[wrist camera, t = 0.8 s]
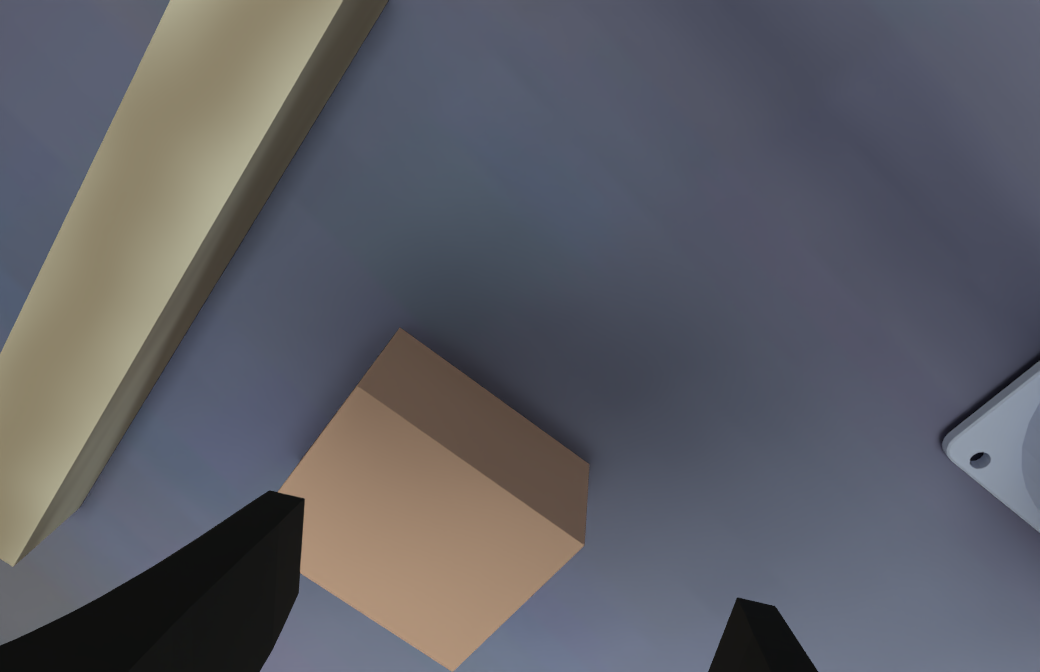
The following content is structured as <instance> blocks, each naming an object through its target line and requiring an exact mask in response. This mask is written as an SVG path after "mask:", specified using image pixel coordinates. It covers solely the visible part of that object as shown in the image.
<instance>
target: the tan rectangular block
mask: <svg viewBox="0 0 1040 672" xmlns="http://www.w3.org/2000/svg"><path fill="white" fill-rule="evenodd" d="M588 480H589V464H588V463H587V462H585V461H584V460H583V459H581V458H580V457H579V456H577V455H576V454H574V453H573V452H572V451H570V450H569V449H568V448H566V447H565V446H563V445H562V444H561V443H559V442H558V441H556V440H555V439H554V438H552V437H551V436H550V435H548V434H547V433H545V432H544V431H543V430H541V429H540V428H538V427H537V426H536V425H534V424H533V423H532V422H530V421H529V420H527V419H526V418H525V417H523V416H522V415H520V414H519V413H518V412H516V411H515V410H514V409H512V408H511V407H509V406H508V405H507V404H505V403H504V402H503V401H501V400H500V399H498V398H497V397H496V396H494V395H493V394H491V393H490V392H489V391H487V390H486V389H485V388H483V387H482V386H480V385H479V384H478V383H476V382H475V381H473V380H472V379H471V378H469V377H468V376H467V375H465V374H464V373H462V372H461V371H460V370H458V369H457V368H455V367H454V366H453V365H451V364H450V363H449V362H447V361H446V360H444V359H443V358H442V357H440V356H439V355H438V354H436V353H435V352H433V351H432V350H431V349H429V348H428V347H426V346H425V345H424V344H422V343H421V342H420V341H418V340H417V339H415V338H414V337H413V336H411V335H410V334H408V333H407V332H406V331H404V330H403V329H402V328H399V329H398V331H397V332H396V333H395V335H394V336H393V337H392V339H391V340H390V342H389V343H388V344H387V346H386V347H385V348H384V350H383V351H382V352H381V354H380V355H379V356H378V358H377V359H376V360H375V362H374V363H373V364H372V366H371V367H370V368H369V370H368V371H367V372H366V374H365V375H364V376H363V378H362V379H361V380H360V382H359V383H358V384H357V386H356V387H355V388H354V390H353V391H352V392H351V394H350V395H349V396H348V398H347V399H346V401H345V402H344V403H343V405H342V406H341V407H340V409H339V410H338V411H337V413H336V414H335V415H334V417H333V418H332V419H331V421H330V422H329V423H328V425H327V426H326V427H325V429H324V430H323V431H322V433H321V434H320V435H319V437H318V438H317V439H316V441H315V442H314V443H313V445H312V446H311V447H310V449H309V450H308V451H307V453H306V454H305V455H304V457H303V458H302V460H301V461H300V462H299V464H298V465H297V466H296V468H295V469H294V470H293V472H292V473H291V474H290V476H289V477H288V479H287V480H286V481H285V483H284V484H283V485H282V487H281V488H280V489H279V491H278V492H279V493H283V494H287V495H292V496H296V497H301V498H305V506H304V521H303V535H302V550H301V565H300V573H301V574H303V575H304V576H306V577H307V578H309V579H310V580H312V581H313V582H315V583H316V584H318V585H320V586H321V587H323V588H324V589H326V590H327V591H329V592H330V593H332V594H333V595H335V596H336V597H338V598H340V599H341V600H343V601H344V602H346V603H347V604H349V605H350V606H352V607H353V608H355V609H356V610H358V611H360V612H361V613H363V614H364V615H366V616H367V617H369V618H370V619H372V620H373V621H375V622H376V623H378V624H380V625H381V626H383V627H384V628H386V629H387V630H389V631H390V632H392V633H393V634H395V635H396V636H398V637H400V638H401V639H403V640H404V641H406V642H407V643H409V644H410V645H412V646H413V647H415V648H416V649H418V650H420V651H421V652H423V653H424V654H426V655H427V656H429V657H430V658H432V659H433V660H435V661H436V662H438V663H440V664H441V665H443V666H444V667H446V668H447V669H449V670H450V671H452V672H453V671H454V670H455V669H456V668H457V667H458V666H459V665H460V664H461V663H462V662H463V661H464V660H465V659H466V658H467V657H469V656H470V655H471V654H472V653H473V652H474V651H475V650H476V649H477V648H478V647H479V646H480V645H481V644H482V643H483V642H484V641H485V640H486V639H487V638H488V637H489V636H490V635H491V634H493V633H494V632H495V631H496V630H497V629H498V628H499V627H500V626H501V625H502V624H503V623H504V622H505V621H506V620H507V619H508V618H509V617H510V616H511V615H512V614H513V613H514V612H515V611H517V610H518V609H519V608H520V607H521V606H522V605H523V604H524V603H525V602H526V601H527V600H528V599H529V598H530V597H531V596H532V595H533V594H534V593H535V592H536V591H537V590H538V589H540V588H541V587H542V586H543V585H544V584H545V583H546V582H547V581H548V580H549V579H550V578H551V577H552V576H553V575H554V574H555V573H556V572H557V571H558V570H559V569H560V568H561V567H562V566H564V565H565V564H566V563H567V562H568V561H569V560H570V559H571V558H572V557H573V556H574V555H575V554H576V553H577V552H578V551H579V550H580V549H581V548H582V547H583V546H584V544H585V528H586V512H587V496H588Z"/></svg>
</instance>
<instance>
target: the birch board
mask: <svg viewBox="0 0 1040 672" xmlns="http://www.w3.org/2000/svg"><path fill="white" fill-rule="evenodd" d="M387 2H388V0H170V2H169V4H168V6H167V8H166V11H165V13H164V15H163V17H162V19H161V21H160V23H159V25H158V27H157V29H156V31H155V33H154V36H153V38H152V40H151V42H150V44H149V46H148V48H147V50H146V52H145V54H144V56H143V58H142V60H141V63H140V65H139V67H138V69H137V71H136V73H135V75H134V77H133V79H132V81H131V83H130V85H129V88H128V90H127V92H126V94H125V96H124V98H123V100H122V102H121V104H120V106H119V108H118V110H117V112H116V115H115V117H114V119H113V121H112V123H111V125H110V127H109V129H108V131H107V133H106V135H105V137H104V140H103V142H102V144H101V146H100V148H99V150H98V152H97V154H96V156H95V158H94V160H93V162H92V164H91V167H90V169H89V171H88V173H87V175H86V177H85V179H84V181H83V183H82V185H81V187H80V189H79V192H78V194H77V196H76V198H75V200H74V202H73V204H72V206H71V208H70V210H69V212H68V214H67V216H66V219H65V221H64V223H63V225H62V227H61V229H60V231H59V233H58V235H57V237H56V239H55V241H54V244H53V246H52V248H51V250H50V252H49V254H48V256H47V258H46V260H45V262H44V264H43V266H42V268H41V271H40V273H39V275H38V277H37V279H36V281H35V283H34V285H33V287H32V289H31V291H30V293H29V296H28V298H27V300H26V302H25V304H24V306H23V308H22V310H21V312H20V314H19V316H18V318H17V320H16V323H15V325H14V327H13V329H12V331H11V333H10V335H9V337H8V339H7V341H6V343H5V345H4V347H3V350H2V352H1V354H0V559H1V560H3V561H5V562H6V563H8V564H10V565H11V566H13V567H14V566H15V565H16V564H17V563H18V562H19V561H20V560H21V559H22V558H24V557H25V556H26V555H27V554H28V553H29V552H30V551H31V550H33V549H34V548H35V547H36V546H37V545H38V544H39V543H40V542H42V541H43V540H44V539H45V538H46V537H47V536H48V535H49V534H51V533H52V532H53V531H54V530H55V529H56V528H57V527H58V526H60V525H61V524H62V523H63V522H64V521H65V520H66V519H67V518H69V517H70V516H71V515H72V514H73V513H74V512H75V511H76V510H78V509H79V508H80V506H81V504H82V503H83V501H84V499H85V498H86V496H87V494H88V493H89V491H90V490H91V488H92V486H93V485H94V483H95V481H96V480H97V478H98V476H99V475H100V473H101V471H102V470H103V468H104V467H105V465H106V463H107V462H108V460H109V458H110V457H111V455H112V453H113V452H114V450H115V448H116V447H117V445H118V444H119V442H120V440H121V439H122V437H123V435H124V434H125V432H126V430H127V429H128V427H129V426H130V424H131V422H132V421H133V419H134V417H135V416H136V414H137V412H138V411H139V409H140V407H141V406H142V404H143V403H144V401H145V399H146V398H147V396H148V394H149V393H150V391H151V389H152V388H153V386H154V384H155V383H156V381H157V380H158V378H159V376H160V375H161V373H162V371H163V370H164V368H165V366H166V365H167V363H168V362H169V360H170V358H171V357H172V355H173V353H174V352H175V350H176V348H177V347H178V345H179V343H180V342H181V340H182V339H183V337H184V335H185V334H186V332H187V330H188V329H189V327H190V325H191V324H192V322H193V320H194V319H195V317H196V316H197V314H198V312H199V311H200V309H201V307H202V306H203V304H204V302H205V301H206V299H207V298H208V296H209V294H210V293H211V291H212V289H213V288H214V286H215V284H216V283H217V281H218V279H219V278H220V276H221V275H222V273H223V271H224V270H225V268H226V266H227V265H228V263H229V261H230V260H231V258H232V256H233V255H234V253H235V252H236V250H237V248H238V247H239V245H240V243H241V242H242V240H243V238H244V237H245V235H246V234H247V232H248V230H249V229H250V227H251V225H252V224H253V222H254V220H255V219H256V217H257V215H258V214H259V212H260V211H261V209H262V207H263V206H264V204H265V202H266V201H267V199H268V197H269V196H270V194H271V192H272V191H273V189H274V188H275V186H276V184H277V183H278V181H279V179H280V178H281V176H282V174H283V173H284V171H285V170H286V168H287V166H288V165H289V163H290V161H291V160H292V158H293V156H294V155H295V153H296V151H297V150H298V148H299V147H300V145H301V143H302V142H303V140H304V138H305V137H306V135H307V133H308V132H309V130H310V128H311V127H312V125H313V124H314V122H315V120H316V119H317V117H318V115H319V114H320V112H321V110H322V109H323V107H324V105H325V104H326V102H327V101H328V99H329V97H330V96H331V94H332V92H333V91H334V89H335V87H336V86H337V84H338V83H339V81H340V79H341V78H342V76H343V74H344V73H345V71H346V69H347V68H348V66H349V64H350V63H351V61H352V60H353V58H354V56H355V55H356V53H357V51H358V50H359V48H360V46H361V45H362V43H363V41H364V40H365V38H366V37H367V35H368V33H369V32H370V30H371V28H372V27H373V25H374V23H375V22H376V20H377V19H378V17H379V15H380V14H381V12H382V10H383V9H384V7H385V5H386V4H387Z"/></svg>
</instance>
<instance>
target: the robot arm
mask: <svg viewBox="0 0 1040 672" xmlns="http://www.w3.org/2000/svg"><path fill="white" fill-rule="evenodd" d="M942 447H943V451H944V452H945V453H946V455H947V456H948V457H949V459H950V460H951V461H952V462H953V463H955V464H956V465H957V466H958V467H959V468H961V469H962V470H963V471H964V472H966V473H967V474H968V475H969V476H971V477H972V478H973V479H974V480H975V481H977V482H978V483H979V484H980V485H982V486H983V487H984V488H985V489H986V490H988V491H989V492H990V493H991V494H993V495H994V496H995V497H996V498H998V499H999V500H1000V501H1001V502H1002V503H1004V504H1005V505H1006V506H1007V507H1009V508H1010V509H1011V510H1012V511H1013V512H1015V513H1016V514H1017V515H1018V516H1020V517H1021V518H1022V519H1023V520H1025V521H1026V522H1027V523H1028V524H1029V525H1031V526H1032V527H1033V528H1034V529H1036V530H1037V531H1038V532H1039V533H1040V361H1039V362H1037V363H1036V364H1035V365H1034V366H1032V367H1031V368H1030V369H1029V370H1027V371H1026V372H1025V373H1023V374H1022V375H1021V376H1020V377H1018V378H1017V379H1016V380H1015V381H1013V382H1012V383H1011V384H1010V385H1008V386H1007V387H1006V388H1005V389H1003V390H1002V391H1001V392H1000V393H998V394H997V395H996V396H994V397H993V398H992V399H991V400H989V401H988V402H987V403H986V404H984V405H983V406H982V407H981V408H979V409H978V410H977V411H976V412H974V413H973V414H972V415H971V416H969V417H968V418H967V419H965V420H964V421H963V422H962V423H960V424H959V425H958V426H957V427H955V428H954V429H953V430H952V431H950V432H949V433H948V434H947V435H946V436H945V438H944V440H943V443H942ZM978 452H984V455H983V456H982V457H981V458H980V459H978V460H976V461H970V458H971V457H972V456H973V455H974V454H976V453H978ZM304 506H305V498H301V497H296V496H292V495H287V494H283V493H279V492H274V491H268V492H266V493H265V494H263V495H262V496H260V497H258V498H257V499H255V500H254V501H252V502H251V503H249V504H248V505H246V506H245V507H243V508H242V509H240V510H239V511H237V512H236V513H235V514H233V515H232V516H230V517H229V518H227V519H226V520H224V521H223V522H221V523H220V524H218V525H217V526H215V527H214V528H212V529H211V530H209V531H208V532H206V533H205V534H203V535H202V536H200V537H199V538H197V539H196V540H194V541H192V542H191V543H189V544H188V545H186V546H185V547H183V548H181V549H180V550H178V551H177V552H175V553H174V554H172V555H170V556H169V557H167V558H166V559H164V560H163V561H161V562H159V563H158V564H156V565H155V566H153V567H151V568H150V569H148V570H146V571H144V572H143V573H141V574H139V575H138V576H136V577H134V578H132V579H131V580H129V581H127V582H125V583H124V584H122V585H120V586H119V587H117V588H115V589H113V590H112V591H110V592H108V593H107V594H105V595H103V596H101V597H99V598H98V599H96V600H94V601H92V602H90V603H88V604H86V605H85V606H83V607H81V608H79V609H77V610H75V611H73V612H71V613H69V614H67V615H65V616H63V617H61V618H59V619H57V620H55V621H53V622H51V623H49V624H47V625H45V626H43V627H40V628H38V629H36V630H34V631H32V632H30V633H28V634H26V635H24V636H21V637H19V638H17V639H15V640H13V641H10V642H8V643H5V644H3V645H1V646H0V672H260V670H261V668H262V667H263V665H264V663H265V662H266V660H267V658H268V656H269V655H270V653H271V651H272V650H273V648H274V645H275V643H276V641H277V639H278V637H279V635H280V633H281V631H282V629H283V626H284V624H285V622H286V620H287V618H288V615H289V613H290V611H291V609H292V606H293V604H294V602H295V600H296V598H297V595H298V593H299V579H300V565H301V550H302V535H303V521H304ZM708 672H818V671H817V669H816V668H815V666H814V665H813V663H812V662H811V660H810V659H809V657H808V656H807V654H806V652H805V651H804V649H803V648H802V646H801V645H800V643H799V642H798V640H797V639H796V637H795V636H794V634H793V632H792V631H791V629H790V628H789V626H788V625H787V623H786V622H785V620H784V619H783V617H782V616H781V614H780V613H779V611H778V610H777V608H776V607H775V606H772V605H768V604H763V603H759V602H755V601H750V600H746V599H742V598H737V599H736V602H735V604H734V607H733V610H732V612H731V615H730V617H729V620H728V622H727V625H726V628H725V630H724V633H723V635H722V638H721V640H720V643H719V646H718V648H717V651H716V653H715V656H714V658H713V661H712V663H711V666H710V669H709V671H708Z"/></svg>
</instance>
